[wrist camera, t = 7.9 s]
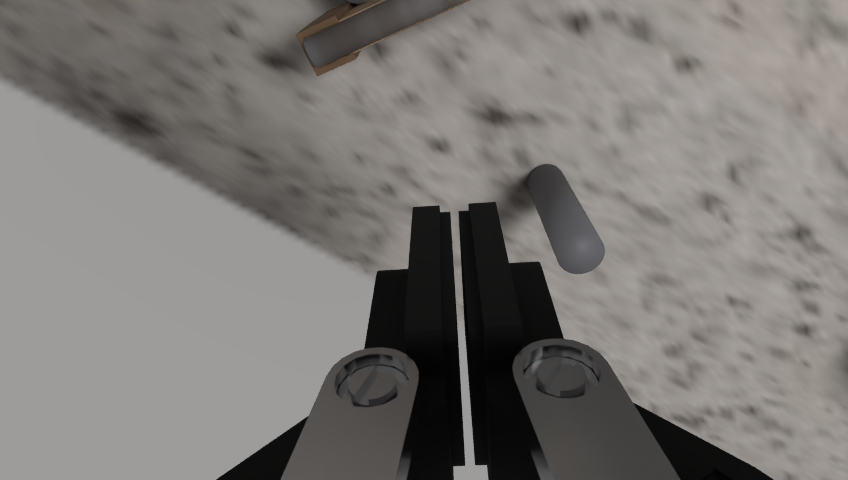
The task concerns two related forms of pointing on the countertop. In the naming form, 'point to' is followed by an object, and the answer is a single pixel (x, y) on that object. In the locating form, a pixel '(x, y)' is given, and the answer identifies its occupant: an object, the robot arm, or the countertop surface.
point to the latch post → (565, 221)
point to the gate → (362, 28)
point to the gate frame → (357, 1)
